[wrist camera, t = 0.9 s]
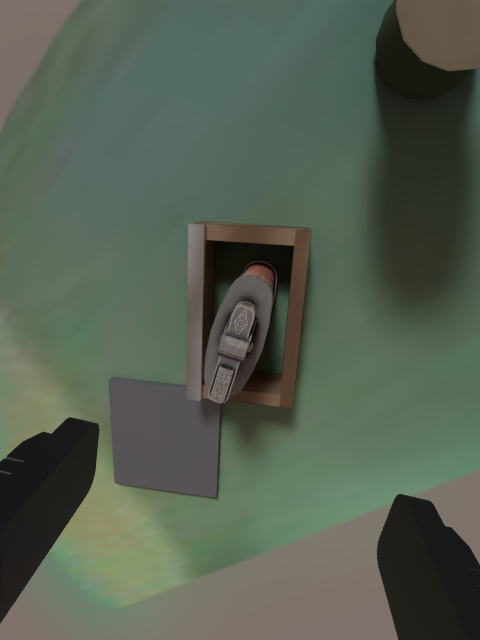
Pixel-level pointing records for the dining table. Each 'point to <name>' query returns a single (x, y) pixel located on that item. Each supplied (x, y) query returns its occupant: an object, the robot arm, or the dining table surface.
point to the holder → (200, 307)
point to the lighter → (240, 330)
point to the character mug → (428, 45)
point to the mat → (164, 437)
